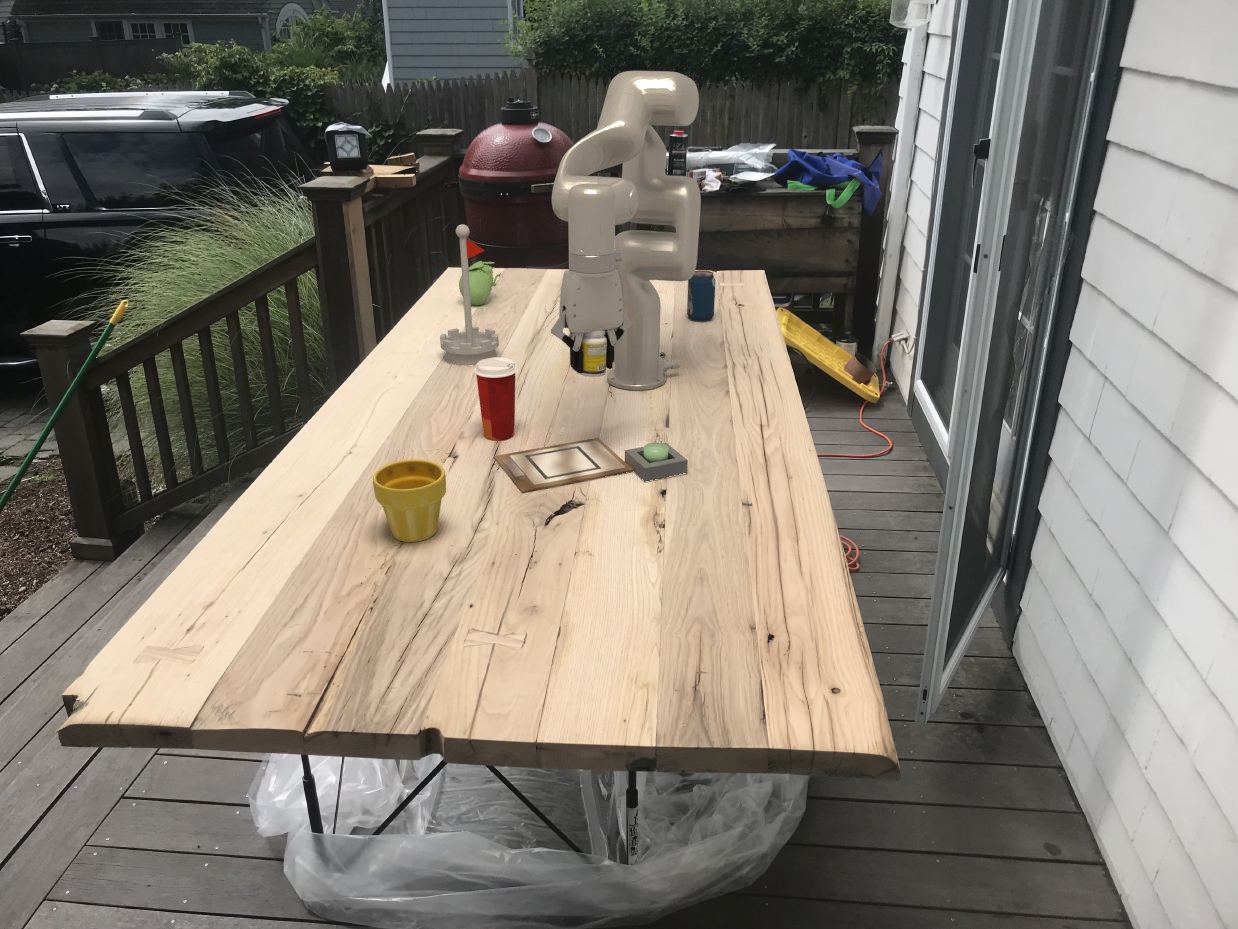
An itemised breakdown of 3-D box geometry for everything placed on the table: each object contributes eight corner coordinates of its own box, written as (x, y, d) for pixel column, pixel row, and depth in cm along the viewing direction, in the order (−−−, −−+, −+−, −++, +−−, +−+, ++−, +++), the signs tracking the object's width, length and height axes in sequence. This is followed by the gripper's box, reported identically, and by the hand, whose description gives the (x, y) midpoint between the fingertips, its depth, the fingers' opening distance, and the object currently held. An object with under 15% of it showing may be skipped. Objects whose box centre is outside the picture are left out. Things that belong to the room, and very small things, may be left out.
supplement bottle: (577, 368, 165) (578, 321, 161) (604, 368, 165) (606, 321, 162) (579, 377, 160) (580, 328, 157) (606, 377, 161) (608, 329, 157)
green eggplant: (499, 309, 252) (497, 268, 247) (457, 309, 252) (455, 268, 247) (505, 297, 263) (503, 258, 258) (465, 297, 263) (462, 257, 258)
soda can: (718, 317, 246) (720, 272, 241) (705, 324, 240) (707, 277, 235) (694, 313, 249) (696, 268, 244) (681, 320, 244) (683, 273, 239)
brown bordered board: (598, 439, 174) (598, 433, 174) (633, 471, 162) (633, 465, 161) (493, 458, 167) (493, 451, 166) (522, 493, 154) (522, 486, 154)
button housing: (665, 456, 168) (666, 442, 167) (687, 473, 161) (687, 460, 160) (624, 463, 165) (624, 450, 164) (644, 482, 158) (645, 468, 157)
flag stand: (430, 362, 213) (419, 227, 200) (460, 346, 224) (451, 216, 211) (481, 370, 208) (473, 232, 196) (509, 352, 219) (503, 221, 207)
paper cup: (526, 430, 178) (523, 359, 172) (509, 445, 172) (505, 372, 166) (488, 424, 180) (484, 354, 174) (470, 439, 174) (465, 367, 168)
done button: (661, 454, 165) (661, 440, 164) (672, 464, 161) (672, 450, 160) (639, 458, 163) (639, 445, 162) (650, 468, 160) (650, 454, 159)
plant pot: (416, 556, 136) (410, 495, 132) (364, 537, 141) (357, 478, 137) (463, 526, 144) (459, 468, 140) (413, 509, 149) (407, 453, 145)
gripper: (628, 253, 161) (627, 356, 169) (534, 262, 155) (537, 369, 162) (648, 262, 155) (646, 368, 163) (552, 272, 148) (554, 382, 156)
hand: (592, 367), depth 162 cm, fingers closed on supplement bottle, 4 cm apart
